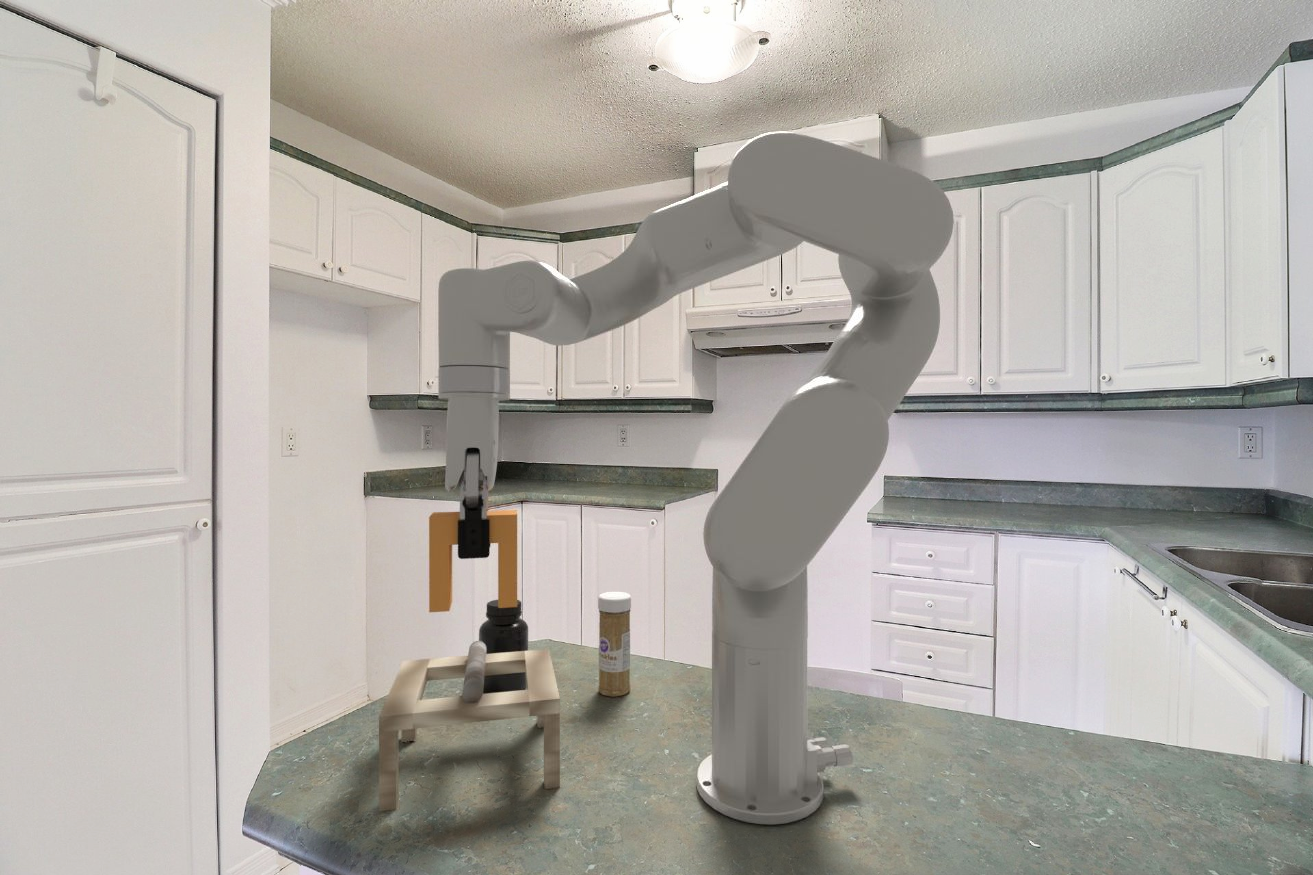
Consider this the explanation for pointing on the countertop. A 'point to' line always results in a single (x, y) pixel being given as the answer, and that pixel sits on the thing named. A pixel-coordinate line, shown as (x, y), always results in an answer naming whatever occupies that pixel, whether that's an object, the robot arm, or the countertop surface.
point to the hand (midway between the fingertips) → (474, 551)
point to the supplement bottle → (504, 644)
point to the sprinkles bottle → (614, 643)
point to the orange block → (446, 535)
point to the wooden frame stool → (467, 706)
